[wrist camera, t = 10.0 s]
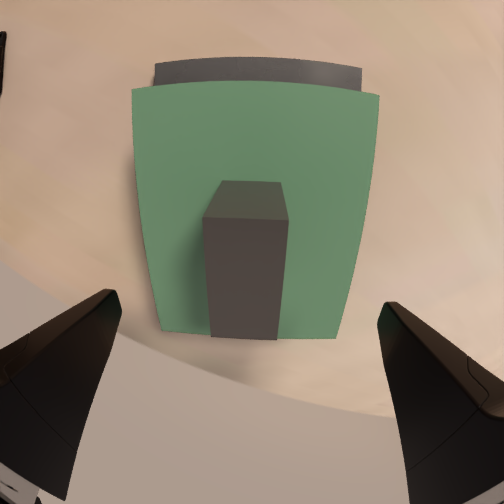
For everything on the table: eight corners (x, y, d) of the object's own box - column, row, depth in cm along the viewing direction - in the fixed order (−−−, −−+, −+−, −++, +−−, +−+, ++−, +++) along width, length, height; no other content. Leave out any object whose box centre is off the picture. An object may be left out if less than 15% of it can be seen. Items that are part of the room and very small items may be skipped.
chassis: (178, 304, 23) (165, 339, 19) (160, 65, 14) (134, 56, 11) (325, 311, 22) (334, 346, 19) (356, 70, 14) (381, 61, 10)
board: (166, 318, 18) (140, 385, 13) (141, 90, 11) (74, 87, 6) (332, 325, 18) (348, 396, 13) (370, 95, 11) (432, 94, 6)
